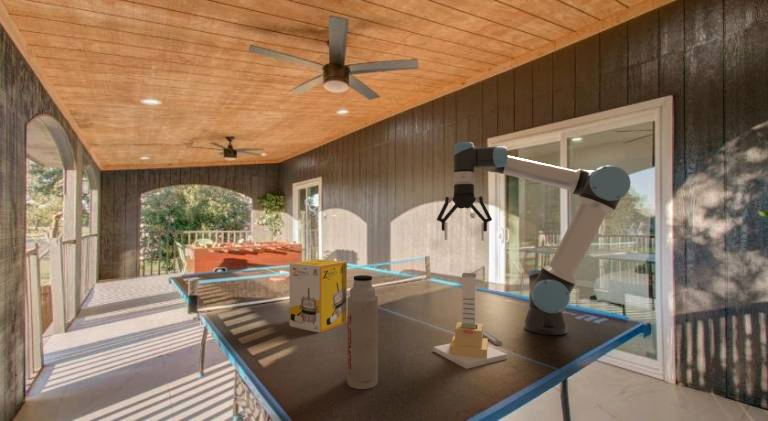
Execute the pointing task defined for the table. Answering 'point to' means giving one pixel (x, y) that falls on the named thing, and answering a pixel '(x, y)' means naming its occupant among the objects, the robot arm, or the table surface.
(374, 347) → the thermos bottle
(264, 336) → the table surface
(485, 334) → the adjustable wrench
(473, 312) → the column
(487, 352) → the stand
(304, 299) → the packaging box
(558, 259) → the robot arm
